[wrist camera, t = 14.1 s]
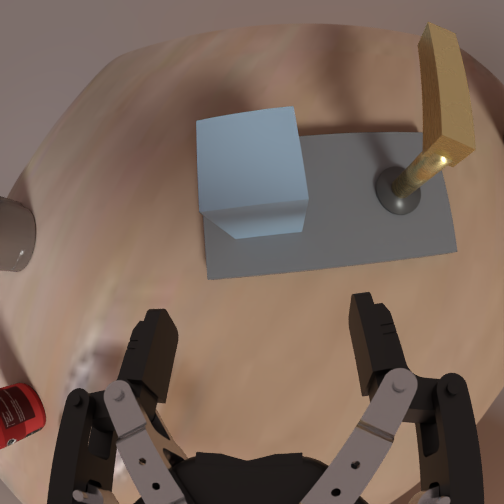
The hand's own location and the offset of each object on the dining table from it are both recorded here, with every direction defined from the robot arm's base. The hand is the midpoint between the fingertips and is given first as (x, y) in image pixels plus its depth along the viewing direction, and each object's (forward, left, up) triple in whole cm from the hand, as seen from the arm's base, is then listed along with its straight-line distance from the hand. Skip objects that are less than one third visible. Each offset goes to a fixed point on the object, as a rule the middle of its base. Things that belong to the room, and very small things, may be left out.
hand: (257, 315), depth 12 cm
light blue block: (-7, +5, -12) cm, 14 cm away
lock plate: (-3, +10, -14) cm, 17 cm away
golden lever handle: (-2, +18, -11) cm, 22 cm away
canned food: (-9, -39, -14) cm, 42 cm away
